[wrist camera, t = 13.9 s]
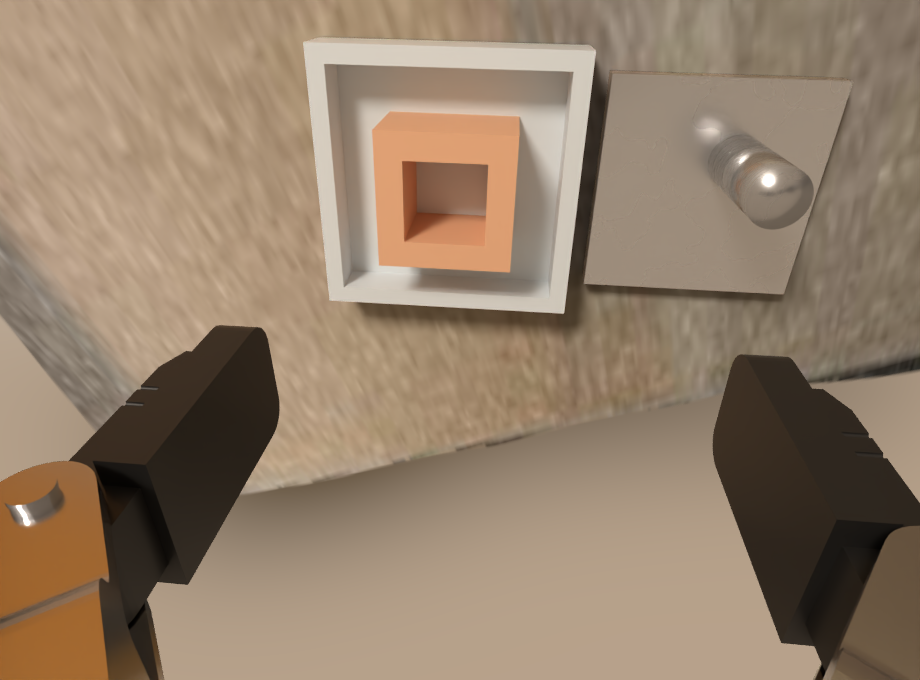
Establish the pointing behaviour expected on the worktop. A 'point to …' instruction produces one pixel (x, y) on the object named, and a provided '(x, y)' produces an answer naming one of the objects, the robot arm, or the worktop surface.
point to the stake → (708, 178)
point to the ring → (434, 234)
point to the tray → (450, 184)
